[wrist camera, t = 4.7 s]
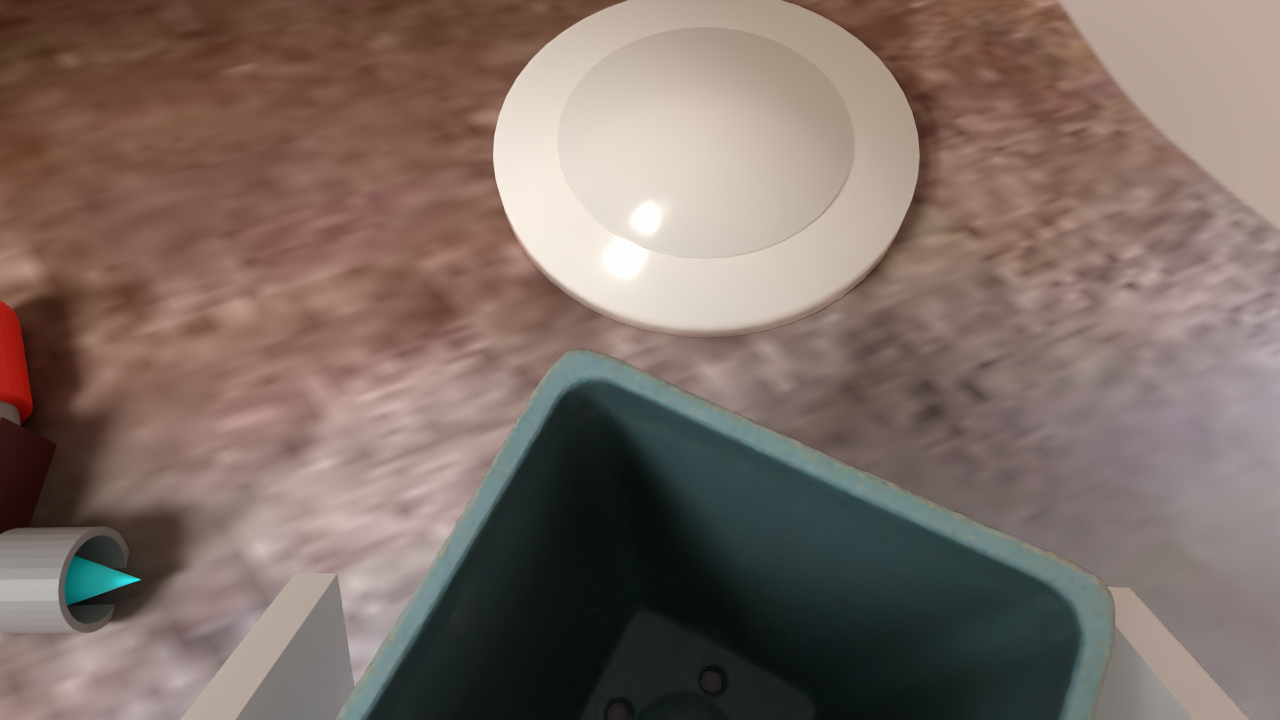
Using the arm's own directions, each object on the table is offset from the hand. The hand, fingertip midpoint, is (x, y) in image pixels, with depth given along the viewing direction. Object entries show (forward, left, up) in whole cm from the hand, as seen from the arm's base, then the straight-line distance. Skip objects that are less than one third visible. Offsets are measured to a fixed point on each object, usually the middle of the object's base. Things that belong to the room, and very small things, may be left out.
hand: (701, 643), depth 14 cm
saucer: (-7, +13, -5) cm, 16 cm away
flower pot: (+1, -2, -5) cm, 6 cm away
